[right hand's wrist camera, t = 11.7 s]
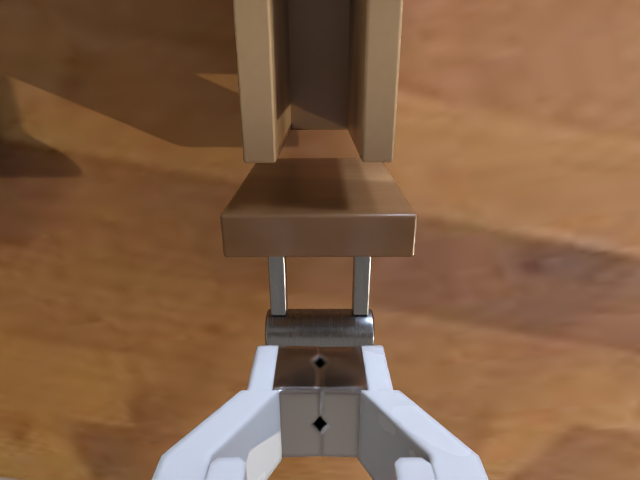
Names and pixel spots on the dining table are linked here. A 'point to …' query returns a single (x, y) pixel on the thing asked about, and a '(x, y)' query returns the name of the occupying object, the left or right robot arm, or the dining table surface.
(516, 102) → the dining table surface
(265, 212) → the drawer
